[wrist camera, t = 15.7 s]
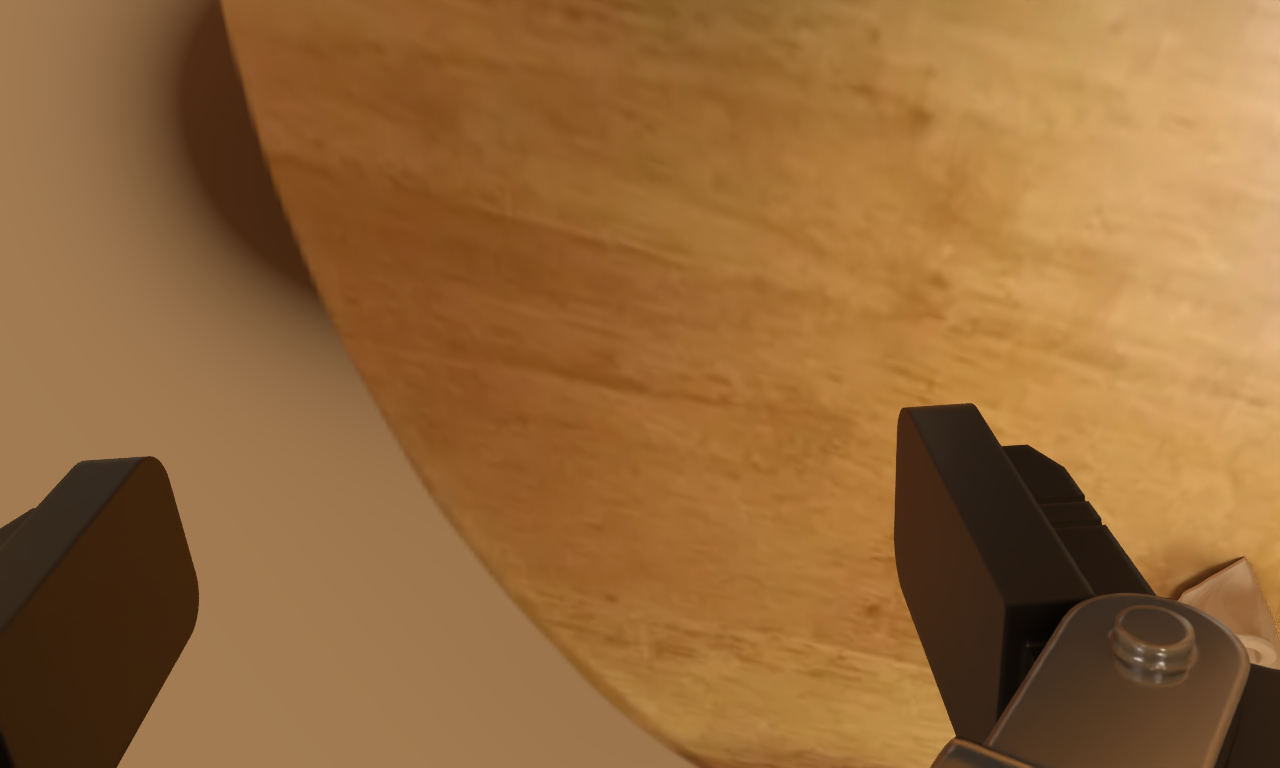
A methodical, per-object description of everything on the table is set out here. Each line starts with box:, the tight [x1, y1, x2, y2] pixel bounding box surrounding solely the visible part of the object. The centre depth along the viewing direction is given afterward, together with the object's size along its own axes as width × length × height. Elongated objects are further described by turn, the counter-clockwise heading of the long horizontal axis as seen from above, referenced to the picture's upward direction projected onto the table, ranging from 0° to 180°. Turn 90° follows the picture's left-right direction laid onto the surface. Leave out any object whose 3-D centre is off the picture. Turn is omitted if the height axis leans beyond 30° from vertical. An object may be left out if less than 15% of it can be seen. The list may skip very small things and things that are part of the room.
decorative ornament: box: [1177, 557, 1280, 670], centre depth 40 cm, size 4×8×5 cm, turn 21°
